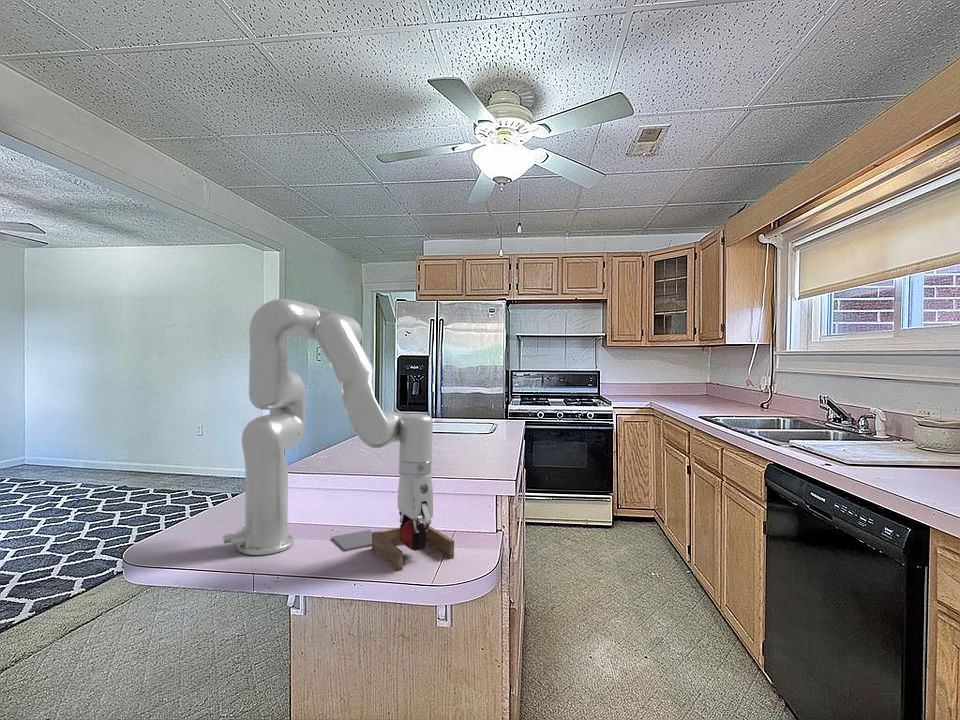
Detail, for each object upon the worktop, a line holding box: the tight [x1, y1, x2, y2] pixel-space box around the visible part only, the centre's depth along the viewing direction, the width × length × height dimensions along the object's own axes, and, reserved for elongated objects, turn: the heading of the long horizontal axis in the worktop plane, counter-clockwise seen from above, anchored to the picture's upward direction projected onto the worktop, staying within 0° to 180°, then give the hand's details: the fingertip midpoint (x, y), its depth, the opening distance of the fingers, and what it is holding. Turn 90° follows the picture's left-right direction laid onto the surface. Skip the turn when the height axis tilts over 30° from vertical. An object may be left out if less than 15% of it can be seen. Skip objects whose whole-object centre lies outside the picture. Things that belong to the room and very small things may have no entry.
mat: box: [331, 529, 373, 552], centre depth 131 cm, size 10×10×1 cm
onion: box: [400, 519, 422, 551], centre depth 122 cm, size 6×6×8 cm
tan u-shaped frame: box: [371, 525, 455, 572], centre depth 123 cm, size 14×15×4 cm
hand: (412, 543), depth 122 cm, fingers closed on onion, 5 cm apart
